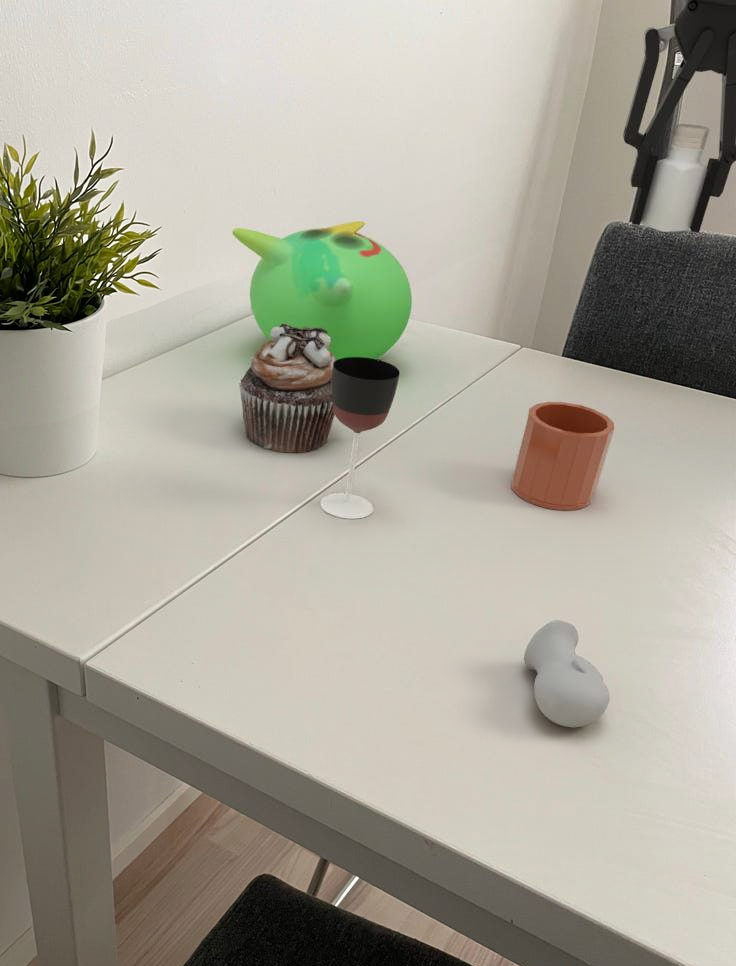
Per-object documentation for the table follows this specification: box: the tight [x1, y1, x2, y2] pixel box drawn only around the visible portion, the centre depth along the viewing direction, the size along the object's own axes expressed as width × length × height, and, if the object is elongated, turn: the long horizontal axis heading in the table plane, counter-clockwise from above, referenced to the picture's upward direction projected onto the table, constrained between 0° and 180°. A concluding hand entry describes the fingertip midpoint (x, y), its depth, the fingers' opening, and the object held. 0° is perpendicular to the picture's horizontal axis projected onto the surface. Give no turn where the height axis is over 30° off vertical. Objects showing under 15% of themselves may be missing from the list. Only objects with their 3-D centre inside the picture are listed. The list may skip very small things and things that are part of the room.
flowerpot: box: [510, 401, 615, 511], centre depth 88 cm, size 7×7×7 cm
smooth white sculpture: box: [523, 619, 610, 729], centre depth 64 cm, size 4×8×5 cm
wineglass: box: [319, 357, 401, 520], centre depth 81 cm, size 5×5×12 cm
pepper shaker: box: [640, 123, 710, 233], centre depth 101 cm, size 4×4×10 cm
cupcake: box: [238, 324, 337, 454], centre depth 92 cm, size 10×10×10 cm
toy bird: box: [232, 221, 413, 360], centre depth 108 cm, size 18×17×15 cm
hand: (664, 225), depth 103 cm, fingers closed on pepper shaker, 5 cm apart
